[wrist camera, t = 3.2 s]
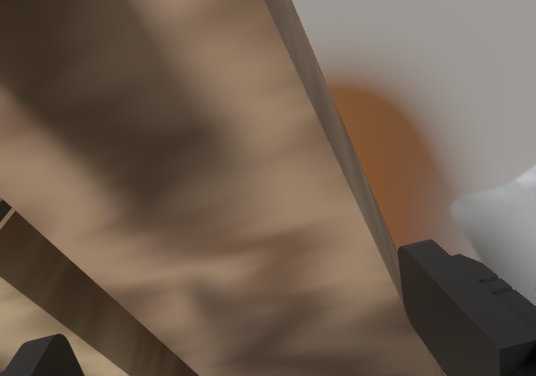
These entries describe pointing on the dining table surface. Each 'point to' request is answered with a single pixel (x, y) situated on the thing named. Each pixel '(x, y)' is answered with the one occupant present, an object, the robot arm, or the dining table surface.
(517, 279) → the dining table surface
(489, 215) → the dining table surface
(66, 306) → the oak block
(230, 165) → the walnut stand
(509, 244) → the dining table surface
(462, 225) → the dining table surface
